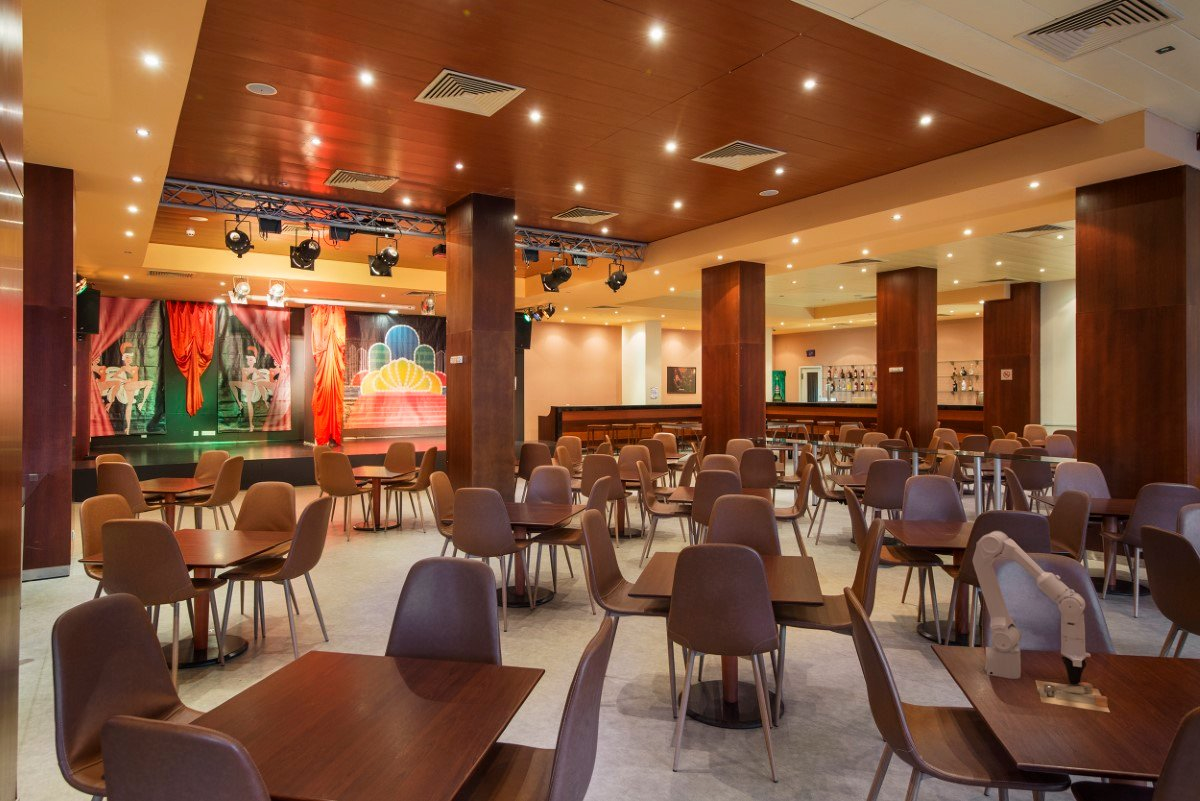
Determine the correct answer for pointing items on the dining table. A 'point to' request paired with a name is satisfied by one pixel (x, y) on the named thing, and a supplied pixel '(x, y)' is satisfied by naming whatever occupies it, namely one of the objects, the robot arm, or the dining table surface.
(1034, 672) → the dining table surface
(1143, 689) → the dining table surface
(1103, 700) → the tongs fixed
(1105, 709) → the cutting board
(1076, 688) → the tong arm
